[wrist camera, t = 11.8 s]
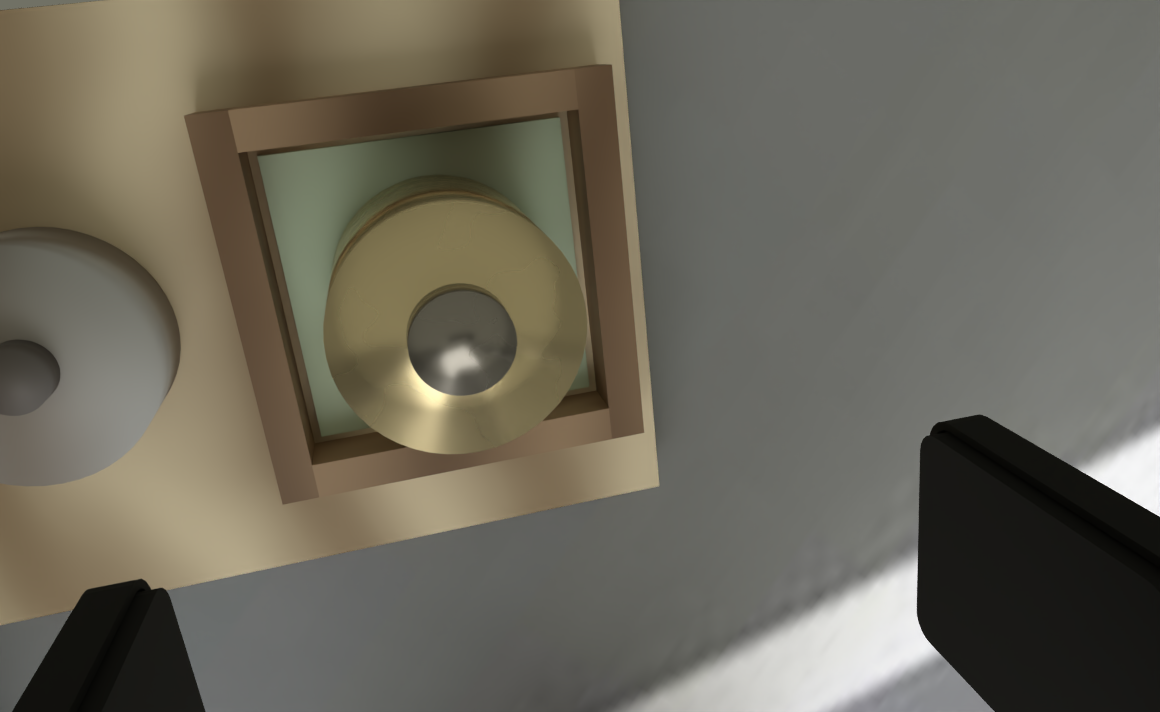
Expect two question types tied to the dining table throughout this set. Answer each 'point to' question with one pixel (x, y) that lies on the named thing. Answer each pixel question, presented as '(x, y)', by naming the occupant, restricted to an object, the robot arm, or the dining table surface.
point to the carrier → (280, 275)
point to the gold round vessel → (451, 317)
